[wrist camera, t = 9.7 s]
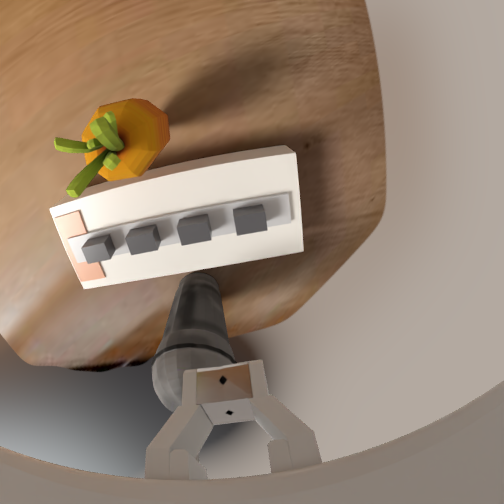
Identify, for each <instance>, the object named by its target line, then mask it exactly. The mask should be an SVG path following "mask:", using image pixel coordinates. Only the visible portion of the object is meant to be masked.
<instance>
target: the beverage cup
mask: <svg viewBox="0 0 504 504" xmlns="http://www.w3.org/2000/svg"><path fill="white" fill-rule="evenodd" d="M236 363H237V362H236V361H235V358H234V355H233V352H232V349H231V347H230V345H229V341H228V334H227V329H226V323H225V318H224V312H223V306H222V300H221V295H220V292H219V286H218V283H217V282H216V280H215V279H214V278H213V277H211V276H210V275H207V274H205V273H199V272H198V273H191V274H189V275H187V276H185V277H184V278H183V279H182V280H181V282H180V284H179V287H178V290H177V292H176V294H175V298H174V301H173V304H172V307H171V311H170V314H169V317H168V321H167V324H166V328H165V331H164V335H163V338H162V341H161V343H160V345H159V347H158V349H157V352H156V354H155V356H154V358H153V360H152V363H151V365H152V366H151V367H152V377H153V386H154V389H155V392H156V394H157V395H158V397H159V398H160V400H161V402H162V403H163V404H164V405H165V407H167V408H168V409H169V410H170V411H172V412H173V413H174V411H175V410H176V409H177V407H178V406H182V391H183V374H184V371H185V370H190V369H200V368H210V367H219V366H223V365H230V364H236ZM195 459H196V460H197V461H198V462H199V453H198V455H197V457H196V458H195Z"/></svg>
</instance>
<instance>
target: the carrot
mask: <svg viewBox="0 0 504 504" xmlns="http://www.w3.org/2000/svg"><path fill="white" fill-rule="evenodd" d="M169 140H170V133H169V123H168V115H167V114H165V113H164V112H163V111H161V110H160V109H158V108H157V107H156V106H154V105H153V104H152V103H150V102H149V101H148V100H143V99H133V98H132V99H128V100H123V101H119V102H115V103H111V104H107V105H103V106H100V107H99V108H98V109H97V111H96V112H95V114H94V115H93V117H92V118H91V120H90V122H89V123H88V125H87V127H86V128H85V130H84V132H83V133H82V141H83V142H80V141H73V140H68V139H63V138H57V137H56V138H55V140H54V145H55V148H56V150H59V151H62V152H68V153H84V154H85V159H86V164H87V166H86V167H85V168H84V169H83V170H82V171H81V172H80V173H79V174H78V175H77V176H76V177H75V178H74V179H73V180H72V182H71V183H70V184H69V186H68V187H67V189H66V191H67V194H68V195H69V196H70V197H74V198H76V197H79V196H80V195H81V194H82V192H83V191H84V190H85V188H86V187H87V186H88V184H89V183H90V182H91V180H92V179H93V178H94V177H95V175H96V174H97V173H99V174H100V175H101V176H103V177H104V178H105V179H107V180H108V181H116V180H122V179H128V178H134V177H140V176H142V175H143V174H144V173H145V172H146V170H147V169H148V168H149V167H150V165H151V164H152V163H153V161H154V160H155V159H156V157H157V156H158V155H159V153H160V152H161V151H162V149H163V148H164V147H165V145H166V144H167V143H168V141H169Z"/></svg>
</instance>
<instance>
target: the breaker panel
mask: <svg viewBox="0 0 504 504" xmlns="http://www.w3.org/2000/svg"><path fill="white" fill-rule="evenodd" d="M49 209H50V212H51V214H52V217H53V220H54V222H55V225H56V227H57V230H58V233H59V235H60V237H61V240H62V242H63V245H64V247H65V249H66V252H67V254H68V256H69V258H70V261H71V263H72V265H73V267H74V269H75V271H76V274H77V276H78V278H79V280H80V282H81V284H82V286H83V288H84V289H88V288H94V287H100V286H106V285H112V284H118V283H124V282H130V281H136V280H142V279H148V278H154V277H160V276H166V275H172V274H178V273H184V272H190V271H196V270H201V269H207V268H213V267H219V266H225V265H230V264H236V263H242V262H247V261H253V260H259V259H264V258H270V257H276V256H281V255H287V254H293V253H298V252H304V248H303V232H302V218H301V204H300V192H299V181H298V170H297V159H296V153H295V152H294V151H293V150H291V149H290V148H289V147H287V146H286V145H281V146H273V147H266V148H259V149H253V150H246V151H240V152H234V153H228V154H222V155H217V156H212V157H206V158H201V159H196V160H191V161H187V162H182V163H178V164H173V165H169V166H164V167H160V168H156V169H152V170H148V171H146V172H145V173H144V174H143V175H142V176H140V177H134V178H128V179H122V180H116V181H107V182H104V183H100V184H97V185H94V186H91V187H87V188H85V190H84V191H83V192H82V194H81V195H80V196H79V197H76V198H74V197H70V196H69V195H68V194H67V195H66V196H64V197H63V198H62V199H61V200H59V201H58V202H57V203H56V204H54V205H53V206H52V207H51V208H49Z"/></svg>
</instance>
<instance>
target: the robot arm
mask: <svg viewBox="0 0 504 504" xmlns="http://www.w3.org/2000/svg"><path fill="white" fill-rule="evenodd" d="M252 420H256V421H257V422H258V424H259V425H260V426H261V427H262V428H263V429H264V430H265V431H266V432H267V433H268V435H269V436H270V437H271V438H272V439H273V441H270V442H269V443H268V445H267V446H268V452H269V459H270V466H271V473H270V474H263V475H255V476H247V477H237V478H225V479H211V480H210V479H207V470H206V469H205V468H204V467H203V466H202V465H201V464H200V463H199V462H198V461H197V460H196V459H195V458H196V457H197V455H198V453H199V451H200V450H201V448H202V446H203V444H204V442H205V441H206V439H207V437H208V435H209V434H210V432H211V430H212V428H213V425H218V424H226V423H233V422H243V421H252ZM0 504H504V381H502V382H501V383H499V384H498V385H496V386H495V387H493V388H492V389H491V390H489V391H488V392H486V393H485V394H483V395H481V396H480V397H478V398H476V399H475V400H473V401H472V402H470V403H468V404H467V405H465V406H463V407H461V408H459V409H458V410H456V411H454V412H452V413H451V414H449V415H447V416H445V417H443V418H441V419H439V420H437V421H435V422H433V423H431V424H429V425H427V426H425V427H423V428H420V429H418V430H416V431H414V432H411V433H409V434H407V435H404V436H402V437H400V438H397V439H395V440H393V441H390V442H387V443H384V444H382V445H379V446H376V447H373V448H371V449H368V450H365V451H362V452H359V453H355V454H352V455H349V456H346V457H342V458H339V459H335V460H331V461H328V462H324V463H322V461H321V457H320V453H319V449H318V445H317V441H316V438H315V434H314V431H313V430H311V429H310V428H309V427H308V426H307V425H306V424H305V423H303V422H302V421H301V420H300V419H299V418H298V417H296V416H295V415H294V414H293V413H292V412H291V411H290V410H289V409H287V408H286V407H285V406H284V405H283V404H282V403H281V402H280V401H279V400H278V399H276V398H275V397H274V396H273V395H269V393H268V387H267V382H266V377H265V372H264V367H263V362H262V360H255V361H250V362H248V361H247V362H242V363H236V364H230V365H223V366H219V367H210V368H200V369H190V370H185V371H184V374H183V391H182V406H178V407H177V409H176V410H175V411H174V413H173V414H172V415H171V417H170V418H169V420H168V421H167V422H166V424H165V425H164V426H163V428H162V429H161V430H160V431H159V433H158V434H157V435H156V437H155V438H154V439H153V441H152V442H151V443H150V445H149V446H148V447H147V449H146V463H145V479H143V478H132V477H122V476H115V475H107V474H101V473H95V472H89V471H84V470H79V469H74V468H69V467H65V466H61V465H57V464H53V463H49V462H46V461H42V460H39V459H35V458H32V457H29V456H26V455H23V454H20V453H17V452H14V451H11V450H9V449H6V448H4V447H1V446H0Z"/></svg>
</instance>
